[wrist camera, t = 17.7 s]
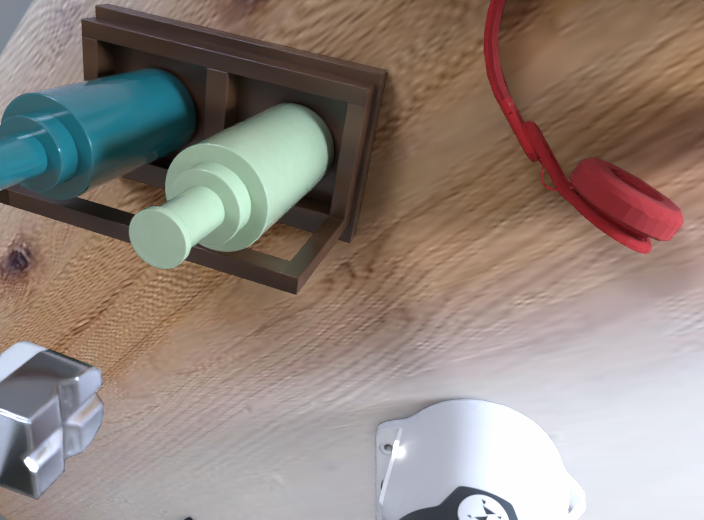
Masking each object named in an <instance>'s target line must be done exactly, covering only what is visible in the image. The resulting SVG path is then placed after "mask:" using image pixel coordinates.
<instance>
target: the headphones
mask: <svg viewBox="0 0 704 520" xmlns="http://www.w3.org/2000/svg"><path fill="white" fill-rule="evenodd" d="M505 3H506V0H491V3H490V6H489V9H488V13H487V19H486V25H485V32H484V55H485V63H486V70H487V76H488V79H489V82H490V85H491V88H492V91H493V93H494V96H495V98H496V100H497V102H498V104H499V105H500V107H501V109H502V111H503V113H504V115H505V117H506V119H507V120H508V122H509V124H510V126H511V128H512V130H513V132H514V133H515V135H516V137H517V139H518V141H519V143H520V145H521V146H522V148H523V150H524V152H525V153H526V155H527V156H528V158H529V159H530V160H531V161H532V162H536V161H538V160H539V161H540V163H541V164H542V178H541V181H542V184H543V185H544V187H545V188H547V189H548V190H552V191H558V192H559V193H560V194H561V195H562V196H563V197H564V198H565V199H566V200H567V201H568V202H569V203H571V204H572V205H573V206H574V207H575V209H576V210H577V211H578V212H580V213H581V214H582V215H583V216H584V217H585V218H586V219H587V220H589V221H590V222H591V223H592V224H594V225H595V226H596V227H597V228H599V229H600V230H601V231H603V232H604V233H606V234H607V235H609V236H610V237H612V238H613V239H615V240H616V241H618V242H619V243H621V244H623V245H625V246H627V247H628V248H630V249H632V250H635V251H637V252H640V253H644V254H647V253H649V252H650V250H651V249H652V245H651V241H650V239H649V237H650V238H653V239H656V240H658V241H669V240H670V239H671V238H672V237H673V236H674V235H675V234H676V233H677V231H678V230H679V229H680V228H681V227H682V224H683V215H682V213H681V210H680V209H679V208H678V207H677V206H676V205H675V204H674V203H673V202H672V201H671V200H670V199H668V198H667V197H666V196H664V195H663V194H661V193H660V192H658V191H657V190H656V189H654V188H653V187H651V186H650V185H648V184H647V183H645V182H644V181H642V180H641V179H639V178H637V177H635V176H634V175H632V174H630V173H628V172H626V171H624V170H623V169H621V168H619V167H617V166H615V165H613V164H611V163H608V162H606V161H603V160H601V159H597V158H589V159H584V160H583V161H581V162H580V163H579V164H578V165H577V167H576V168H575V170H574V171H573V173H572V174H571V176H570V181H571V183H570V182H569V181H568V180H567V178H566V177H565V175H564V173H563V171H562V170H561V168H560V166H559V164H558V162H557V160H556V158H555V156H554V155H553V153H552V151H551V149H550V147H549V145H548V143H547V142H546V140H545V137H544V136H543V134H542V132H541V130H540V128H539V127H538V126H537V124H535V123H534V122H531V121H527V122H524V120H523V119H522V117H521V115H520V113H519V111H518V109H517V107H516V105H515V103H514V102H513V100H512V98H511V96H510V94H509V91H508V88H507V85H506V82H505V79H504V76H503V73H502V70H501V67H500V63H499V50H498V35H499V28H500V23H501V19H502V14H503V10H504V6H505ZM514 109H515V110H514ZM540 159H541V160H540ZM544 166H545V168H546V170H547V172H548V174H549V175H550V177H551V179H552V181H553V183H554V185H555V187H556V188H552V187H549V186H547V185H546V184H545V183H544V182H543V174H544Z"/></svg>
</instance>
